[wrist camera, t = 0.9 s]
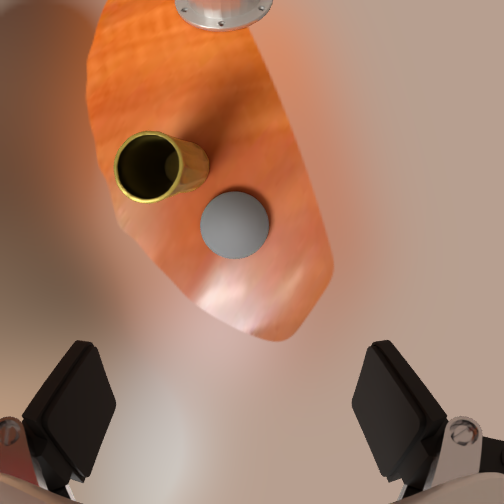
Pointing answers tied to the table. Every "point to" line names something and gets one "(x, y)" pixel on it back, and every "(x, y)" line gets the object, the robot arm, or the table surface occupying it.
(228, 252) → the coaster
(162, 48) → the table surface
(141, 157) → the vase
